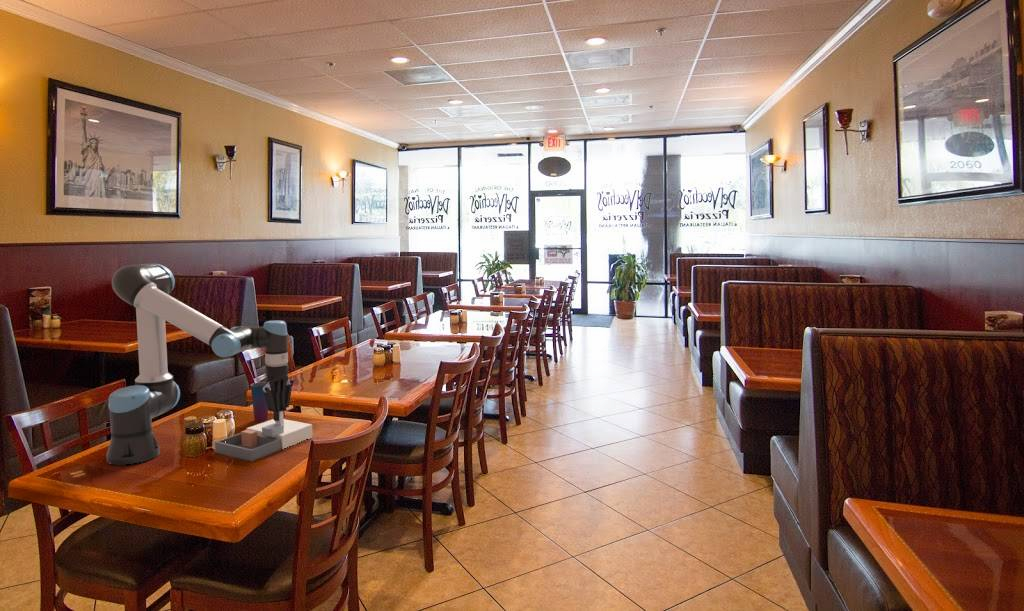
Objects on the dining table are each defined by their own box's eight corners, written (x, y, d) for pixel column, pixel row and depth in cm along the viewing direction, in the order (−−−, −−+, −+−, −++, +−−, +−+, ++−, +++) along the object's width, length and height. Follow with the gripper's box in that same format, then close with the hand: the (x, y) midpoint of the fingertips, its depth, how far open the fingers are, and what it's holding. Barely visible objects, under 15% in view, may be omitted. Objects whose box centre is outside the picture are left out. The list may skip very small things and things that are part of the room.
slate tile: (262, 434, 206) (261, 427, 206) (273, 430, 211) (273, 423, 211) (272, 436, 204) (272, 429, 204) (283, 432, 209) (283, 425, 208)
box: (215, 453, 202) (214, 442, 202) (244, 442, 213) (244, 431, 212) (251, 462, 194) (251, 450, 194) (280, 450, 205) (280, 439, 204)
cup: (252, 418, 240) (250, 383, 238) (270, 416, 243) (268, 381, 241) (252, 423, 234) (250, 387, 232) (270, 421, 237) (269, 385, 235)
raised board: (247, 441, 214) (246, 428, 213) (277, 430, 226) (277, 417, 226) (282, 449, 206) (282, 435, 205) (312, 437, 218) (312, 424, 218)
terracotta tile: (247, 442, 211) (241, 445, 209) (247, 429, 210) (241, 431, 208) (257, 445, 209) (251, 447, 206) (256, 431, 208) (250, 433, 206)
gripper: (269, 369, 200) (272, 435, 203) (298, 361, 212) (301, 425, 215) (254, 366, 204) (257, 432, 206) (283, 359, 215) (286, 422, 218)
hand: (279, 428), depth 211 cm, fingers closed
